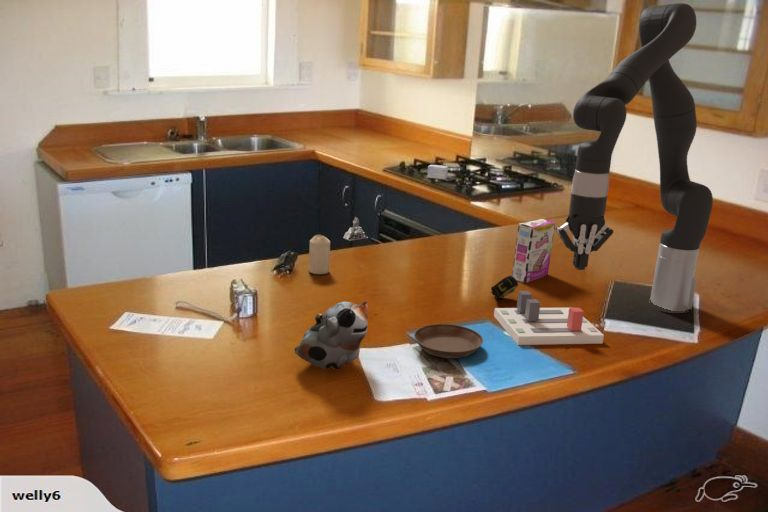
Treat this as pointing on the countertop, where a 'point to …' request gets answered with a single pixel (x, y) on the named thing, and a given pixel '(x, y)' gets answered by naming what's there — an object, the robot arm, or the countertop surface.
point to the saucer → (448, 340)
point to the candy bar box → (533, 250)
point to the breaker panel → (543, 324)
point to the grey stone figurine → (355, 232)
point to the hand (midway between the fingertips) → (579, 268)
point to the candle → (319, 255)
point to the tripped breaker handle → (575, 318)
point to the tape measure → (504, 287)
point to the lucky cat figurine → (335, 336)
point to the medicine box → (437, 171)
